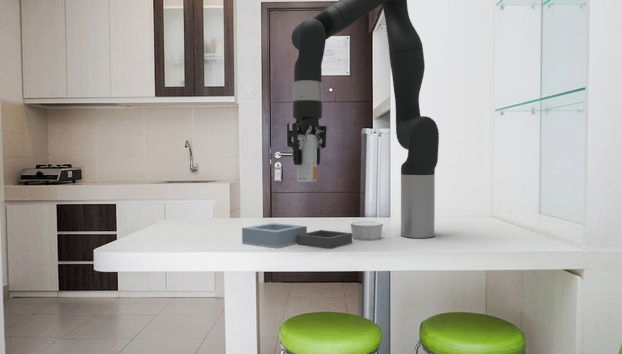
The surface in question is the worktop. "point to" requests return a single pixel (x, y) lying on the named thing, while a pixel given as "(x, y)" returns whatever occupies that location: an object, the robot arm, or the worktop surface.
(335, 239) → the dark grey square tray
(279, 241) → the blue-grey square tray
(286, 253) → the worktop surface
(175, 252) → the worktop surface
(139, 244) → the worktop surface
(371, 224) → the ramekin
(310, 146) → the skincare box
